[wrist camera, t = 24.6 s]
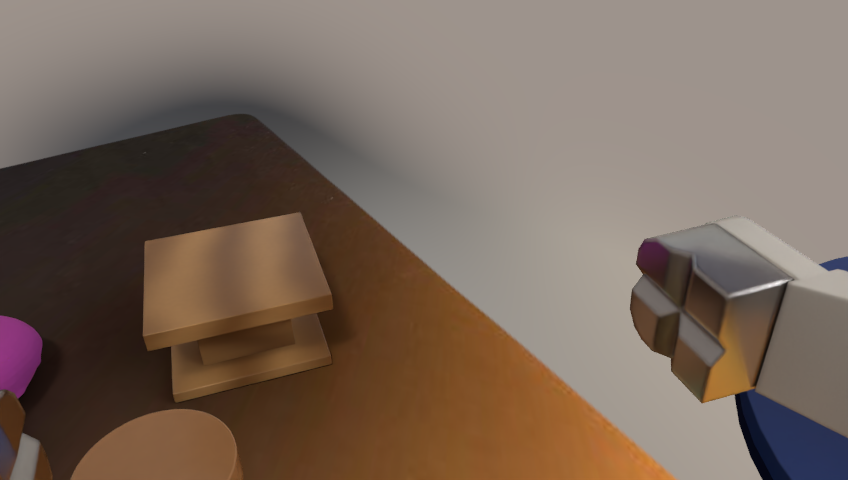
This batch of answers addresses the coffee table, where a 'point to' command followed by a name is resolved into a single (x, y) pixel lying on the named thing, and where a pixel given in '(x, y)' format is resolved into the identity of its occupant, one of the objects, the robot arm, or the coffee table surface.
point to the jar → (164, 450)
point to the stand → (236, 304)
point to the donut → (18, 354)
